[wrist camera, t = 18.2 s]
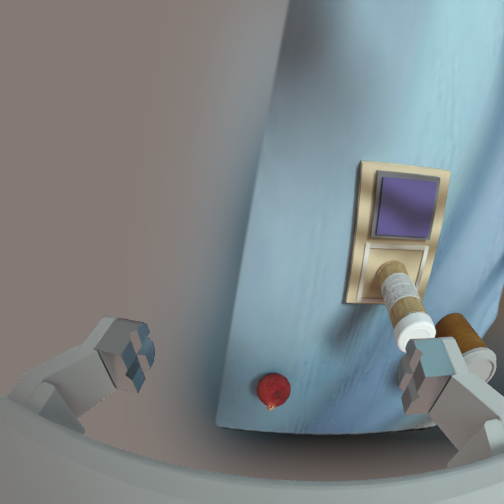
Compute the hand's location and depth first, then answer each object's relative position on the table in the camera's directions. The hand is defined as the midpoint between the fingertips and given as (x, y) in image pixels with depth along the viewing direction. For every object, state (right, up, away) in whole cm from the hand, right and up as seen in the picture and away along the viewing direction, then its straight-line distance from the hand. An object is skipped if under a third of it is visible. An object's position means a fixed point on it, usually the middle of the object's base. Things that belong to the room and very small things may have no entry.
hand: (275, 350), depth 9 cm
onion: (+4, -19, +45) cm, 49 cm away
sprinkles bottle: (+18, 0, +31) cm, 36 cm away
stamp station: (+19, +5, +30) cm, 35 cm away
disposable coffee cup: (+33, -10, +35) cm, 49 cm away
